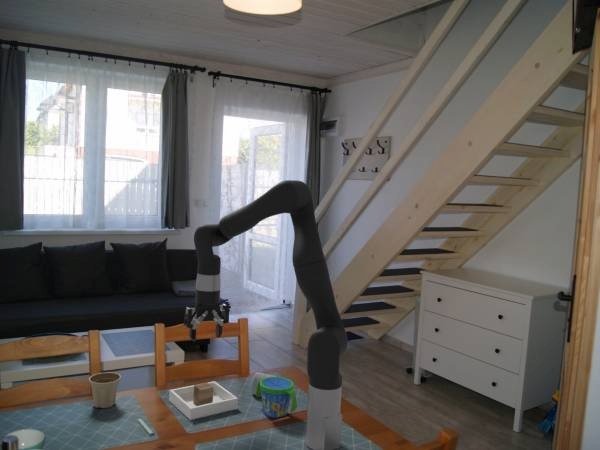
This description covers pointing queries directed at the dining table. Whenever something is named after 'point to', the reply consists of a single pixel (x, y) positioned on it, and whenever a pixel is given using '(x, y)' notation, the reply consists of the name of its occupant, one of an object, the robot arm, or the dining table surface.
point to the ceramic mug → (256, 379)
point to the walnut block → (203, 394)
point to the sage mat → (145, 427)
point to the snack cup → (276, 396)
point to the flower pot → (104, 388)
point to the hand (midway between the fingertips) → (205, 338)
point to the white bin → (220, 404)
